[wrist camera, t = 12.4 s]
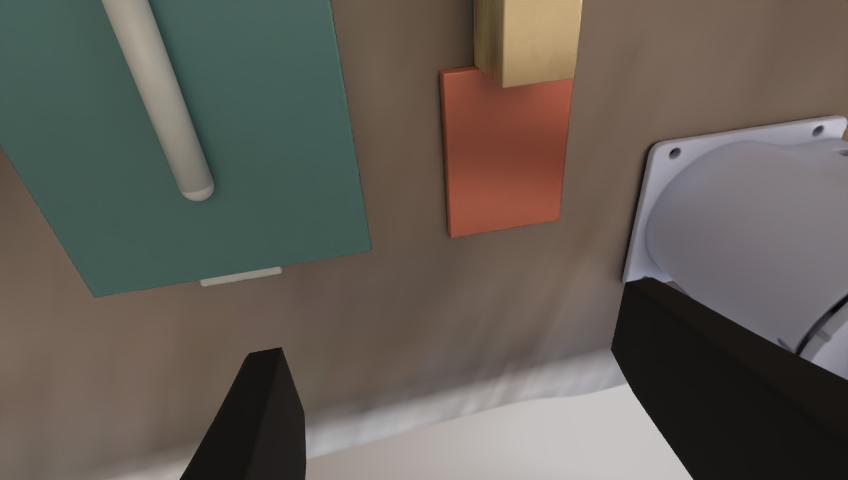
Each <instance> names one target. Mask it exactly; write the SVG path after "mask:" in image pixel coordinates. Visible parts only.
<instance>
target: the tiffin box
mask: <svg viewBox="0 0 848 480" xmlns="http://www.w3.org/2000/svg"><path fill="white" fill-rule="evenodd" d="M0 146H1V147H2V149H3V150H4V152H5V154H6V155H7V157H8V159H9V160H10V162H11V163H12V165H13V167H14V168H15V170H16V172H17V173H18V175H19V176H20V178H21V180H22V181H23V183H24V185H25V186H26V188H27V189H28V191H29V193H30V194H31V196H32V197H33V199H34V201H35V202H36V204H37V206H38V207H39V209H40V210H41V212H42V214H43V215H44V217H45V219H46V220H47V222H48V223H49V225H50V227H51V228H52V230H53V232H54V233H55V235H56V236H57V238H58V240H59V241H60V243H61V245H62V246H63V248H64V249H65V251H66V253H67V254H68V256H69V257H70V259H71V261H72V262H73V264H74V266H75V267H76V269H77V270H78V272H79V274H80V275H81V277H82V279H83V280H84V282H85V283H86V285H87V287H88V288H89V290H90V292H91V293H92V295H93V296H94V297H102V296H108V295H114V294H120V293H126V292H132V291H138V290H144V289H150V288H156V287H161V286H167V285H173V284H179V283H185V282H191V281H197V280H199V281H200V283H201V285H202V286H210V285H216V284H222V283H228V282H234V281H239V280H245V279H251V278H257V277H263V276H269V275H275V274H280V273H282V268H283V266H286V265H292V264H298V263H304V262H309V261H315V260H321V259H327V258H333V257H339V256H345V255H351V254H357V253H363V252H369V251H371V250H372V247H371V241H370V235H369V229H368V223H367V217H366V211H365V205H364V199H363V193H362V187H361V181H360V175H359V169H358V163H357V157H356V151H355V145H354V139H353V133H352V127H351V121H350V115H349V109H348V103H347V97H346V91H345V85H344V79H343V73H342V67H341V61H340V55H339V49H338V43H337V37H336V31H335V25H334V19H333V13H332V7H331V1H330V0H0Z"/></svg>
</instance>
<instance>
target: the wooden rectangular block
mask: <svg viewBox="0 0 848 480" xmlns="http://www.w3.org/2000/svg"><path fill="white" fill-rule="evenodd" d="M582 2H583V0H473V11H474V64H475V66H469V67H461V68H453V69H446V70H441V71H440V91H441V110H442V128H443V147H444V165H445V184H446V203H447V221H448V232H449V234H450V237H451V238H455V237H461V236H467V235H472V234H478V233H484V232H490V231H496V230H502V229H508V228H514V227H519V226H525V225H531V224H537V223H543V222H549V221H555V220H559V214H560V204H561V194H562V184H563V175H564V165H565V155H566V145H567V136H568V126H569V116H570V106H571V97H572V87H573V78H574V77H575V70H576V60H577V50H578V41H579V31H580V22H581V12H582Z"/></svg>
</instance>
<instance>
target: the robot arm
mask: <svg viewBox="0 0 848 480" xmlns="http://www.w3.org/2000/svg"><path fill="white" fill-rule="evenodd" d="M846 126H847V119H846V118H845V117H843V116H840V115H830V116H824V117H817V118H811V119H804V120H798V121H791V122H785V123H778V124H771V125H765V126H758V127H752V128H745V129H739V130H732V131H726V132H719V133H712V134H706V135H699V136H693V137H686V138H680V139H673V140H667V141H661V142H658V143H656V144H655V145H654V146H653V147H652V148H651V149H650V152H649V155H648V160H647V165H646V169H645V174H644V179H643V184H642V188H641V193H640V198H639V203H638V208H637V212H636V217H635V222H634V227H633V231H632V236H631V241H630V246H629V250H628V255H627V260H626V265H625V269H624V274H623V279H622V282H623V284H624V285H625V287H624V291H623V296H622V301H621V305H620V310H619V315H618V319H617V324H616V328H615V333H614V338H613V342H612V347H611V351H612V353H613V355H614V357H615V359H616V361H617V363H618V365H619V367H620V369H621V371H622V373H623V375H624V376H625V378H626V380H627V382H628V384H629V386H630V387H631V389H632V391H633V393H634V394H635V396H636V397H637V399H638V400H639V402H640V403H641V405H642V406H643V408H644V409H645V411H646V412H647V414H648V415H649V416H650V418H651V419H652V421H653V422H654V424H655V425H656V426H657V428H658V430H659V431H660V432H661V434H662V435H663V437H664V438H665V439H666V441H667V442H668V444H669V445H670V447H671V448H672V450H673V451H674V452H675V454H676V455H677V457H678V458H679V460H680V461H681V462H682V464H683V465H684V467H685V468H686V470H687V471H688V472H689V474H690V475H691V477H692V478H693V480H848V142H847V141H845V140H842V139H841V137H842V135H843V133H844V131H845V128H846ZM674 148H675V150H674V152H673V153H672V154H671V155H669V154H670V152H671V151H672V150H673V149H674ZM670 281H674V282H675V283H676V284H677V285H678V286H680V287H681V288H682V289H683V290H684V291H685V292H686V293H687V294H688V295H689V296H690V297H689V296H687V295H685V294H683V293H682V292H680V291H678V290H676V289H674V288H672V287H670V286H669V285H667V284H665V282H670ZM305 474H306V440H305V416H304V410H303V407H302V405H301V402H300V399H299V396H298V393H297V390H296V387H295V384H294V382H293V379H292V376H291V373H290V370H289V367H288V364H287V361H286V359H285V356H284V353H283V350H282V347H279V348H274V349H269V350H263V351H258V352H253V353H249V354H248V356H247V357H246V358H245V360H244V362H243V364H242V366H241V368H240V370H239V372H238V374H237V376H236V378H235V380H234V382H233V384H232V386H231V388H230V390H229V392H228V394H227V396H226V398H225V400H224V402H223V404H222V406H221V407H220V409H219V411H218V413H217V415H216V417H215V419H214V421H213V422H212V424H211V426H210V428H209V430H208V431H207V433H206V435H205V437H204V438H203V440H202V442H201V444H200V445H199V447H198V449H197V451H196V453H195V454H194V456H193V458H192V460H191V461H190V463H189V465H188V466H187V468H186V470H185V471H184V473H183V475H182V476H181V478H180V480H305Z"/></svg>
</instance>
